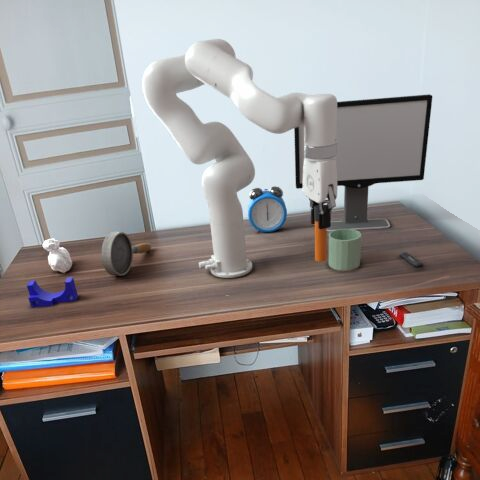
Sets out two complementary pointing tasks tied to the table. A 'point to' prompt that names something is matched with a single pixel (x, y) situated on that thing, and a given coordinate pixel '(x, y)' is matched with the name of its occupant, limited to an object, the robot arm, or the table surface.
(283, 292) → the table surface
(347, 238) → the pen holder
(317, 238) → the marker
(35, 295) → the blue cradle stand
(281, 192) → the alarm clock
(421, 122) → the computer monitor
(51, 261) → the bust
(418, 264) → the usb stick
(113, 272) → the frying pan
